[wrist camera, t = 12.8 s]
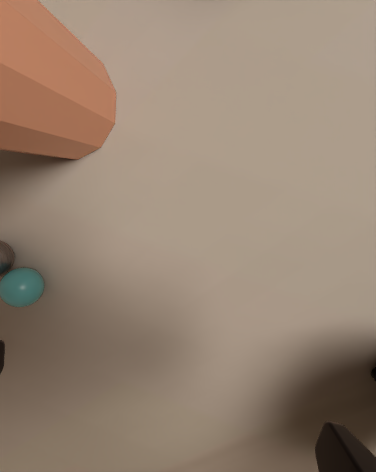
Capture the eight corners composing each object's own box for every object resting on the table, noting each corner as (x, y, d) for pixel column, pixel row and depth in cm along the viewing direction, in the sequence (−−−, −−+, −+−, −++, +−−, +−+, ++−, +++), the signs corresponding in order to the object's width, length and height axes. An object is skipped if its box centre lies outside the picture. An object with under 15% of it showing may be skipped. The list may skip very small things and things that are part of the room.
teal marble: (59, 280, 22) (34, 296, 19) (39, 303, 23) (11, 322, 20) (31, 255, 22) (2, 266, 19) (12, 279, 22) (-20, 294, 20)
